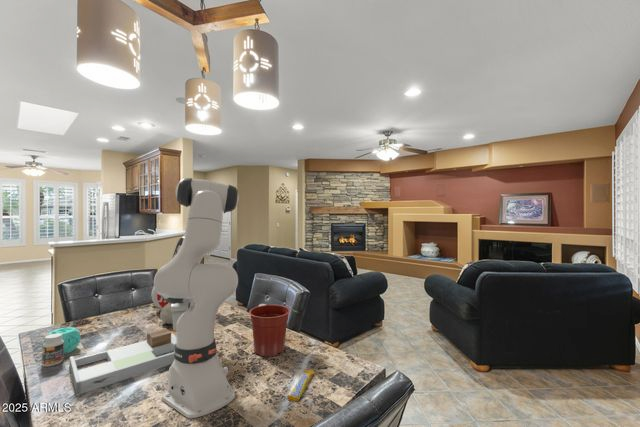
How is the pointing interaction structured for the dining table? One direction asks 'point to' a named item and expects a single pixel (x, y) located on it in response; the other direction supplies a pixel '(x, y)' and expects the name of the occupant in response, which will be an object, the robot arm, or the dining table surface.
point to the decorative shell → (168, 314)
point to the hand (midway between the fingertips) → (182, 333)
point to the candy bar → (300, 385)
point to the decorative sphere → (158, 299)
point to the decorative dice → (68, 338)
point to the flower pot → (269, 329)
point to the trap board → (119, 364)
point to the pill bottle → (53, 350)
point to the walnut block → (158, 337)
